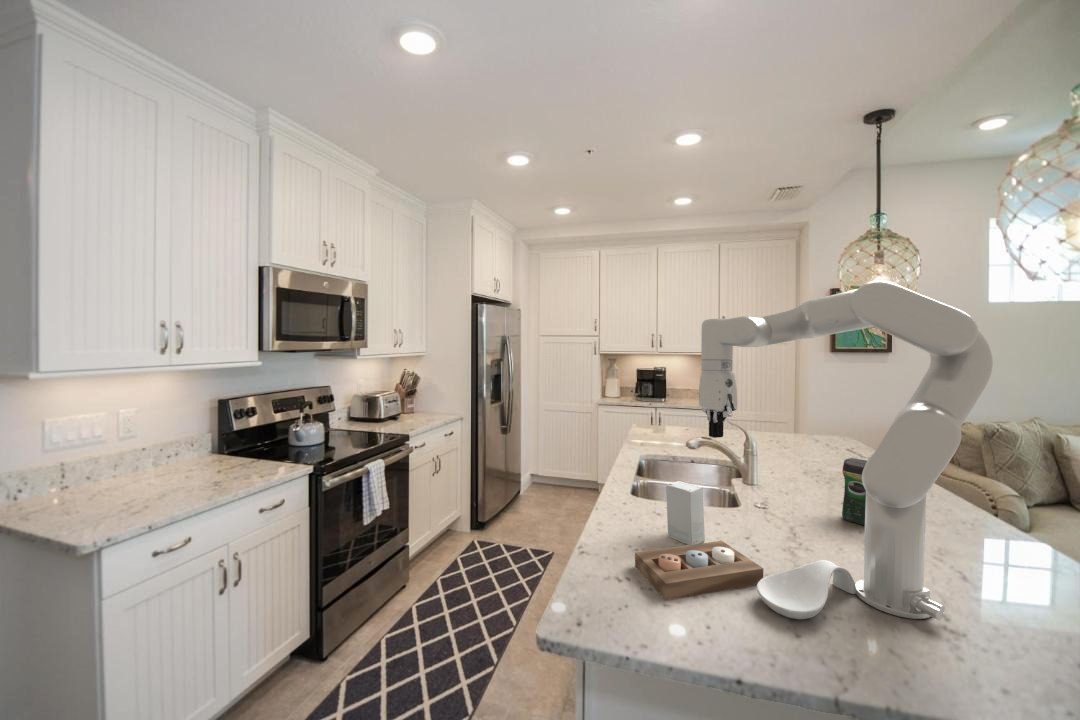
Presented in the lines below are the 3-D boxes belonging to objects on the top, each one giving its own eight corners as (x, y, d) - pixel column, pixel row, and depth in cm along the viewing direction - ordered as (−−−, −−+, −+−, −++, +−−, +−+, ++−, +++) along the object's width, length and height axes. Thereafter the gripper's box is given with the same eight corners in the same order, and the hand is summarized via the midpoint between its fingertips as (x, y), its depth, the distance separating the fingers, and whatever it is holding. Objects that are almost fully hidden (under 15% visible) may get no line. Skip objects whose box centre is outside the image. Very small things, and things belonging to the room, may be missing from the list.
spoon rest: (798, 637, 78) (799, 598, 78) (743, 602, 89) (744, 568, 88) (874, 603, 88) (874, 569, 88) (816, 576, 99) (817, 545, 98)
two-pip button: (712, 577, 97) (712, 557, 97) (693, 580, 96) (693, 560, 96) (699, 567, 102) (699, 548, 101) (681, 570, 100) (681, 550, 100)
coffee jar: (886, 523, 127) (887, 461, 126) (876, 530, 122) (877, 465, 122) (848, 513, 135) (849, 454, 134) (837, 519, 130) (838, 458, 130)
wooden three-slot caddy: (763, 583, 95) (763, 568, 95) (666, 599, 89) (666, 583, 89) (721, 554, 108) (721, 540, 108) (635, 566, 103) (635, 552, 102)
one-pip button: (738, 573, 99) (738, 554, 99) (720, 576, 98) (720, 556, 97) (724, 563, 103) (725, 544, 103) (707, 566, 102) (707, 547, 102)
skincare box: (705, 542, 115) (705, 487, 115) (690, 547, 112) (691, 491, 112) (679, 530, 122) (679, 479, 122) (665, 536, 119) (665, 483, 119)
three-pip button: (684, 582, 95) (685, 561, 95) (665, 585, 94) (665, 564, 94) (673, 571, 100) (673, 551, 100) (654, 573, 99) (654, 554, 99)
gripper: (749, 367, 105) (748, 442, 105) (711, 365, 119) (710, 430, 120) (723, 368, 103) (722, 444, 104) (687, 365, 117) (686, 432, 118)
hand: (716, 436), depth 112 cm, fingers closed
